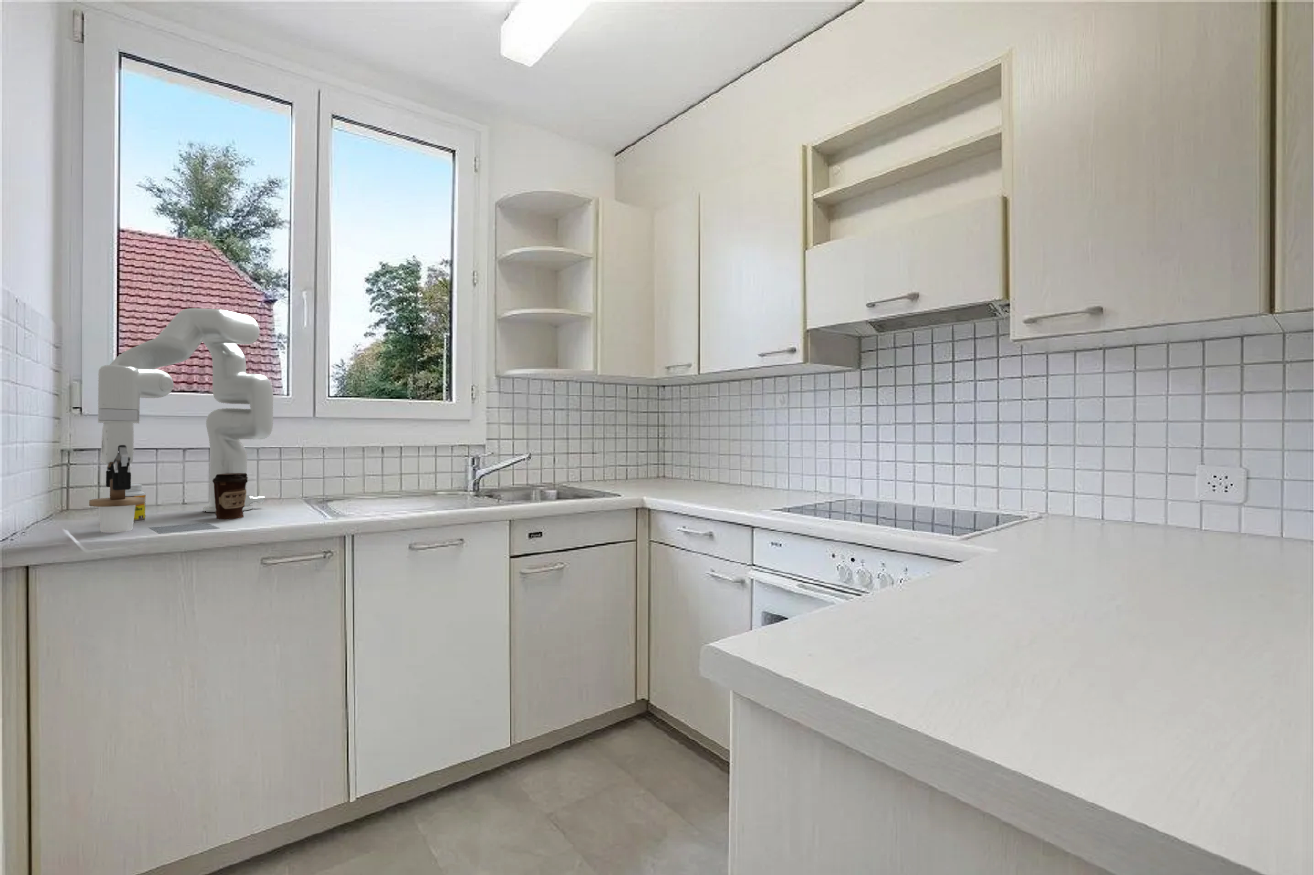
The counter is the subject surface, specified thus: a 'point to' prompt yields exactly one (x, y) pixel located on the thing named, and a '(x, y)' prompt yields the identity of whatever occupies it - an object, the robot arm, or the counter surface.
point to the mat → (183, 528)
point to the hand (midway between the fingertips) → (118, 488)
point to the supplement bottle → (139, 508)
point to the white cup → (116, 518)
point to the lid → (116, 499)
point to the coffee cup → (230, 495)
